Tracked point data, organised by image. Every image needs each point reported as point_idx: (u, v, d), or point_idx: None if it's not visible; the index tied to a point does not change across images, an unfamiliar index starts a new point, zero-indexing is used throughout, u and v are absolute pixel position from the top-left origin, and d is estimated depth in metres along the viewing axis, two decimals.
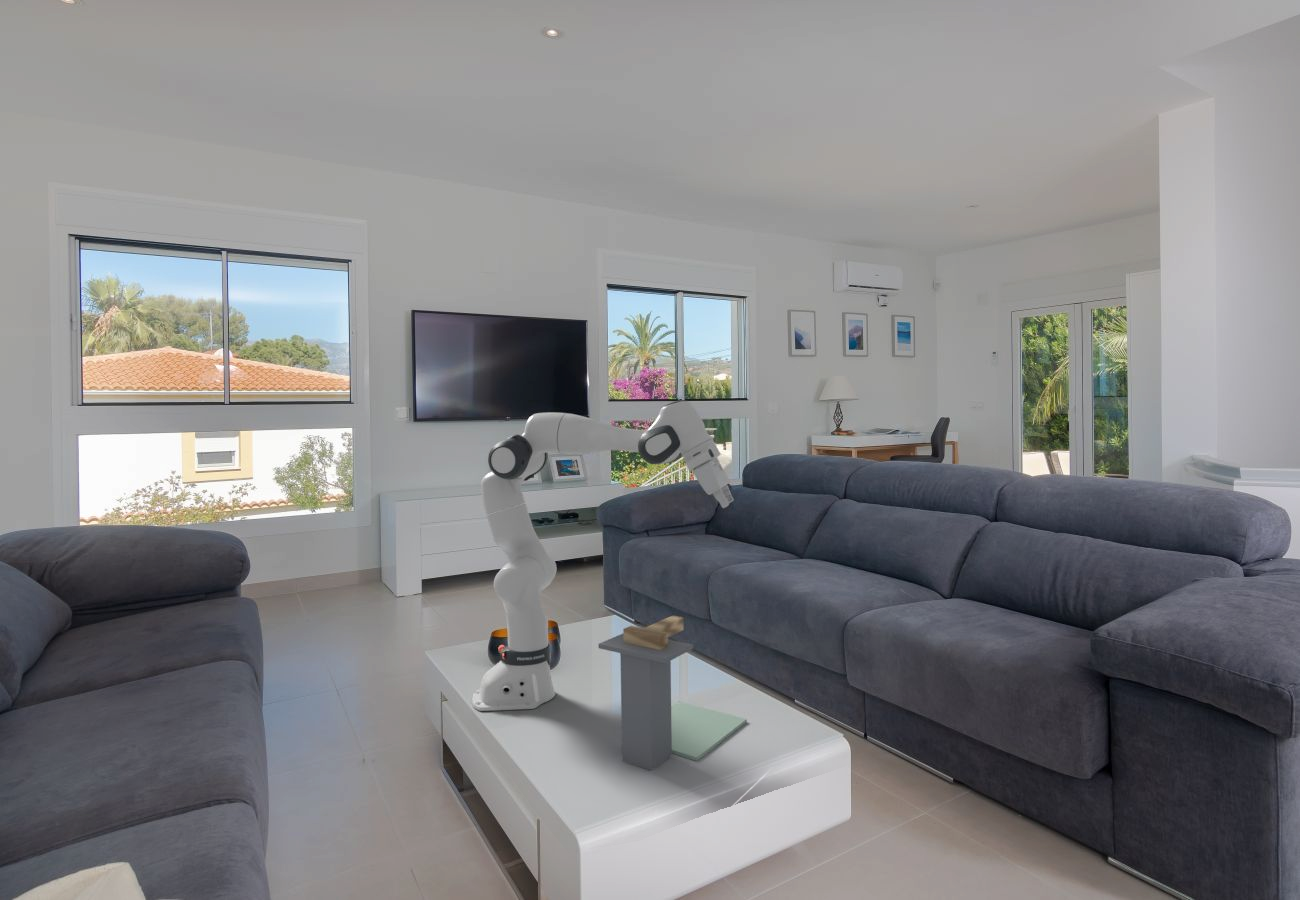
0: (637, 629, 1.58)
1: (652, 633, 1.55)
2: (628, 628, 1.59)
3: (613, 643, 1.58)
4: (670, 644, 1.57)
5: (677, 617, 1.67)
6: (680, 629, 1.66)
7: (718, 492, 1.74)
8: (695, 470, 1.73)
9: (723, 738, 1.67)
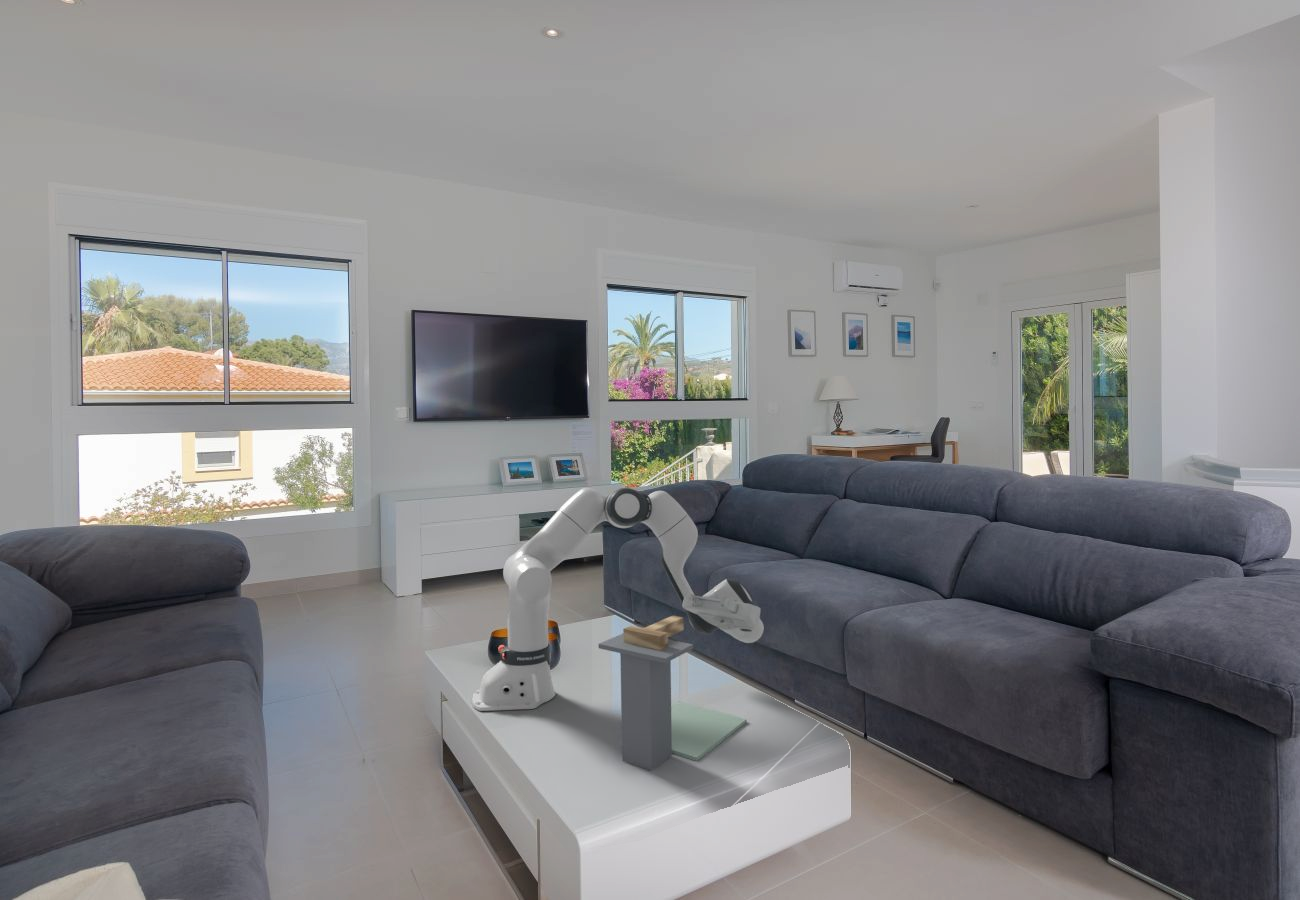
0: (637, 629, 1.58)
1: (652, 633, 1.55)
2: (628, 628, 1.59)
3: (613, 643, 1.58)
4: (670, 644, 1.57)
5: (677, 617, 1.67)
6: (680, 629, 1.66)
7: (735, 609, 1.78)
8: None
9: (723, 738, 1.67)
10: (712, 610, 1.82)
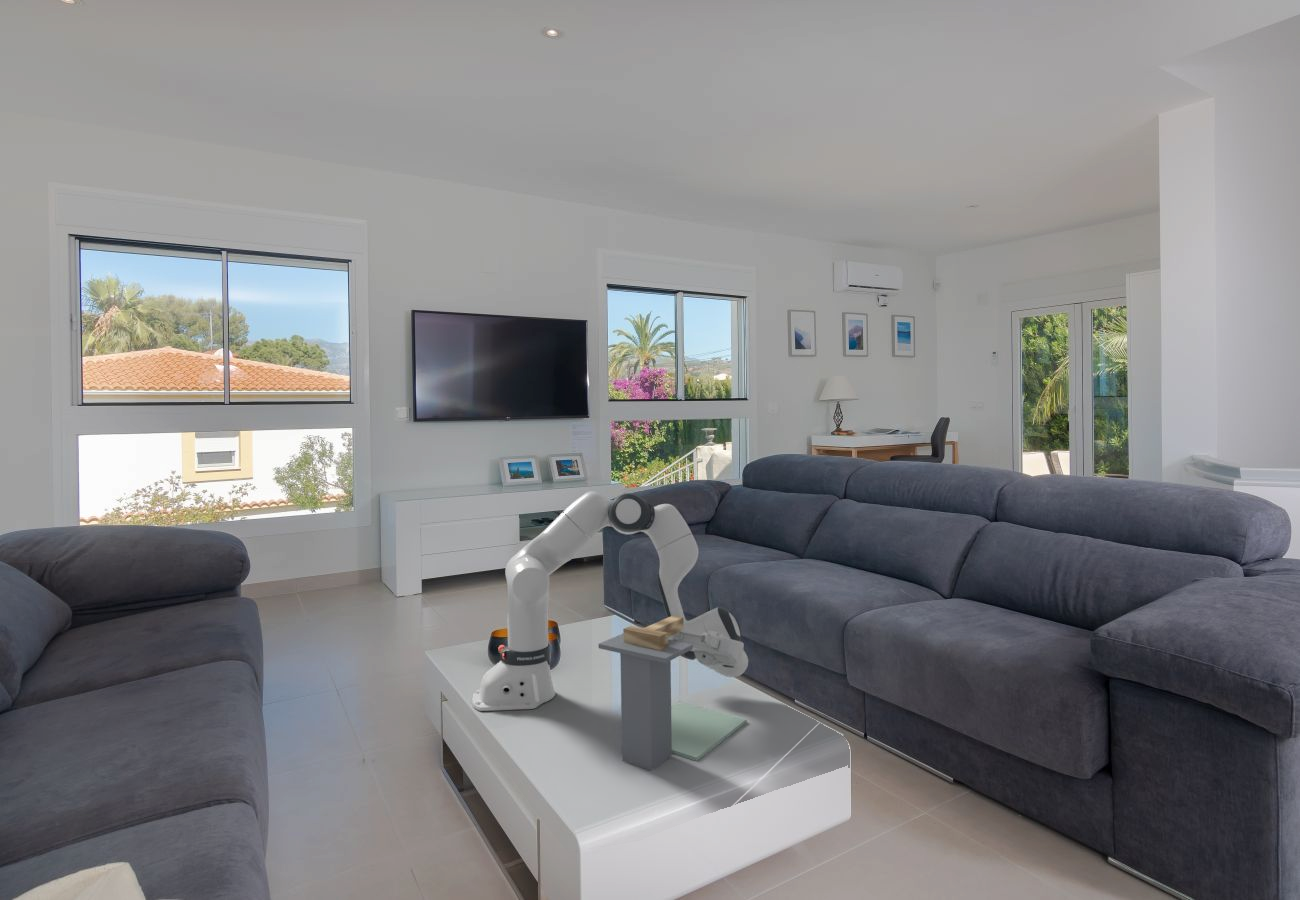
0: (637, 629, 1.58)
1: (652, 633, 1.55)
2: (628, 628, 1.59)
3: (613, 643, 1.58)
4: (670, 644, 1.57)
5: (677, 617, 1.67)
6: (680, 629, 1.66)
7: (717, 645, 1.71)
8: None
9: (723, 738, 1.67)
10: (693, 645, 1.75)
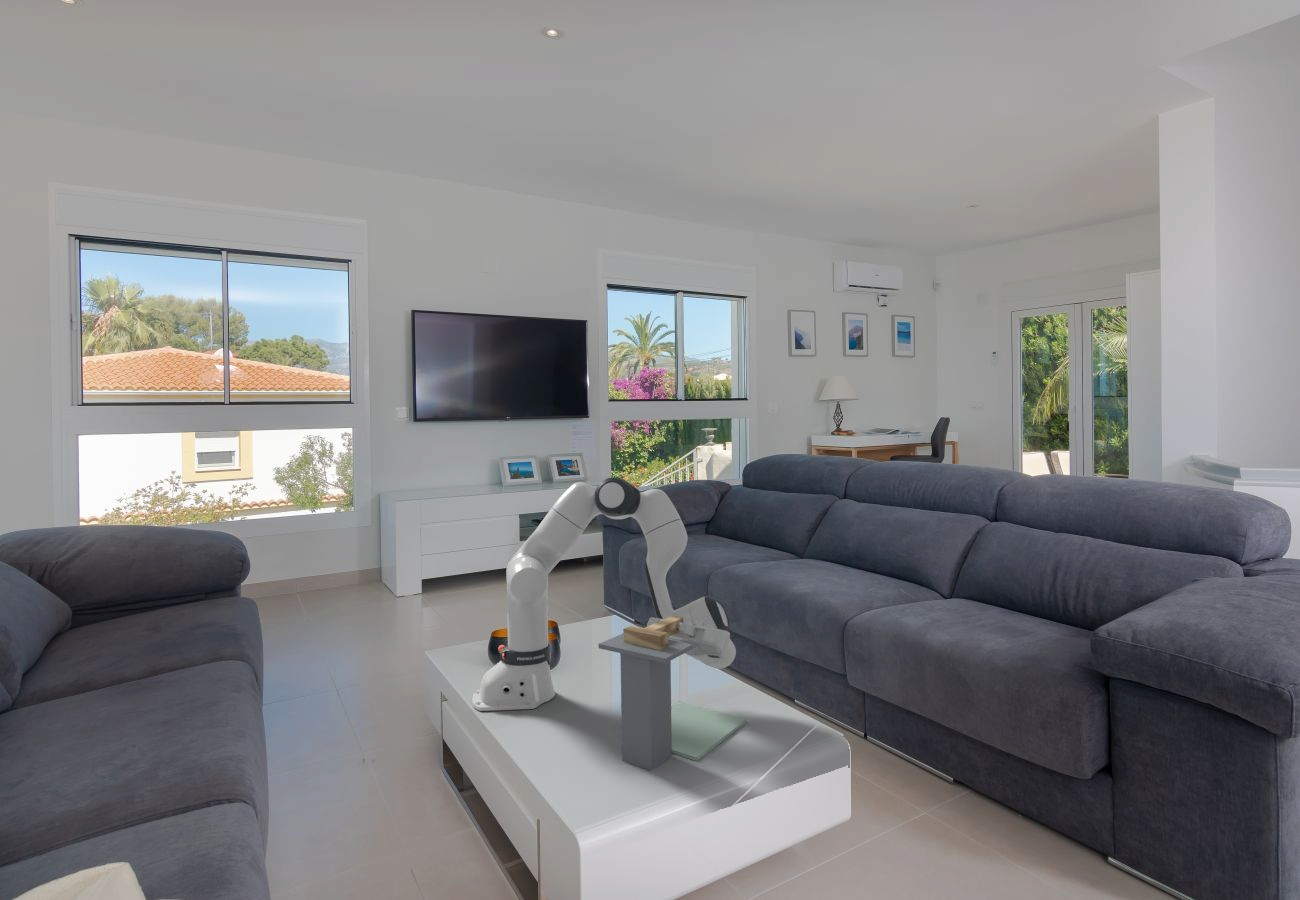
0: (637, 629, 1.58)
1: (652, 633, 1.55)
2: (628, 628, 1.59)
3: (613, 643, 1.58)
4: (670, 644, 1.57)
5: (677, 617, 1.67)
6: None
7: (692, 632, 1.66)
8: None
9: (723, 738, 1.67)
10: (677, 635, 1.69)
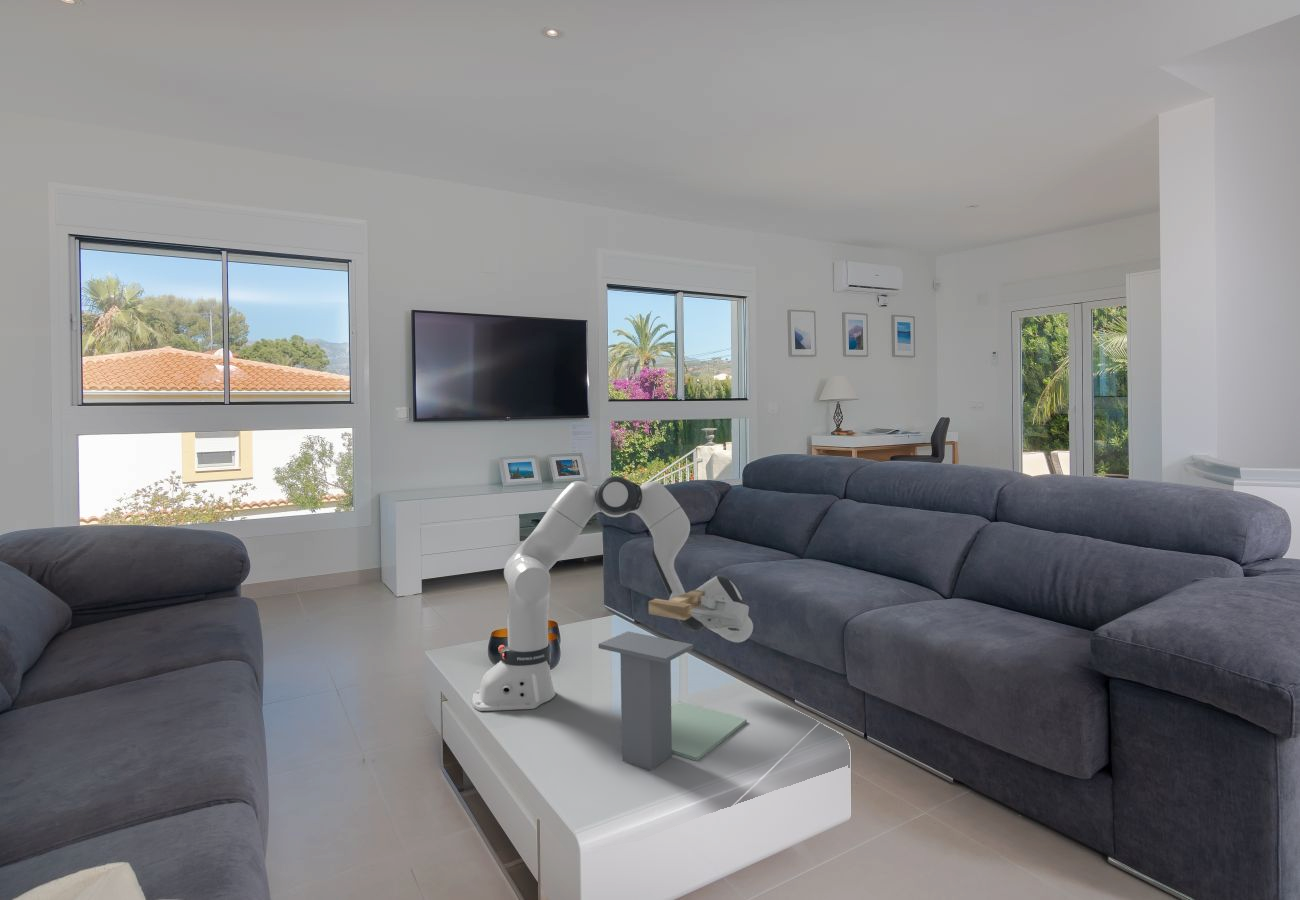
0: (661, 601, 1.66)
1: (676, 605, 1.63)
2: (653, 601, 1.67)
3: (613, 643, 1.58)
4: (670, 644, 1.57)
5: (698, 591, 1.75)
6: None
7: (713, 606, 1.74)
8: None
9: (723, 738, 1.67)
10: (699, 608, 1.76)
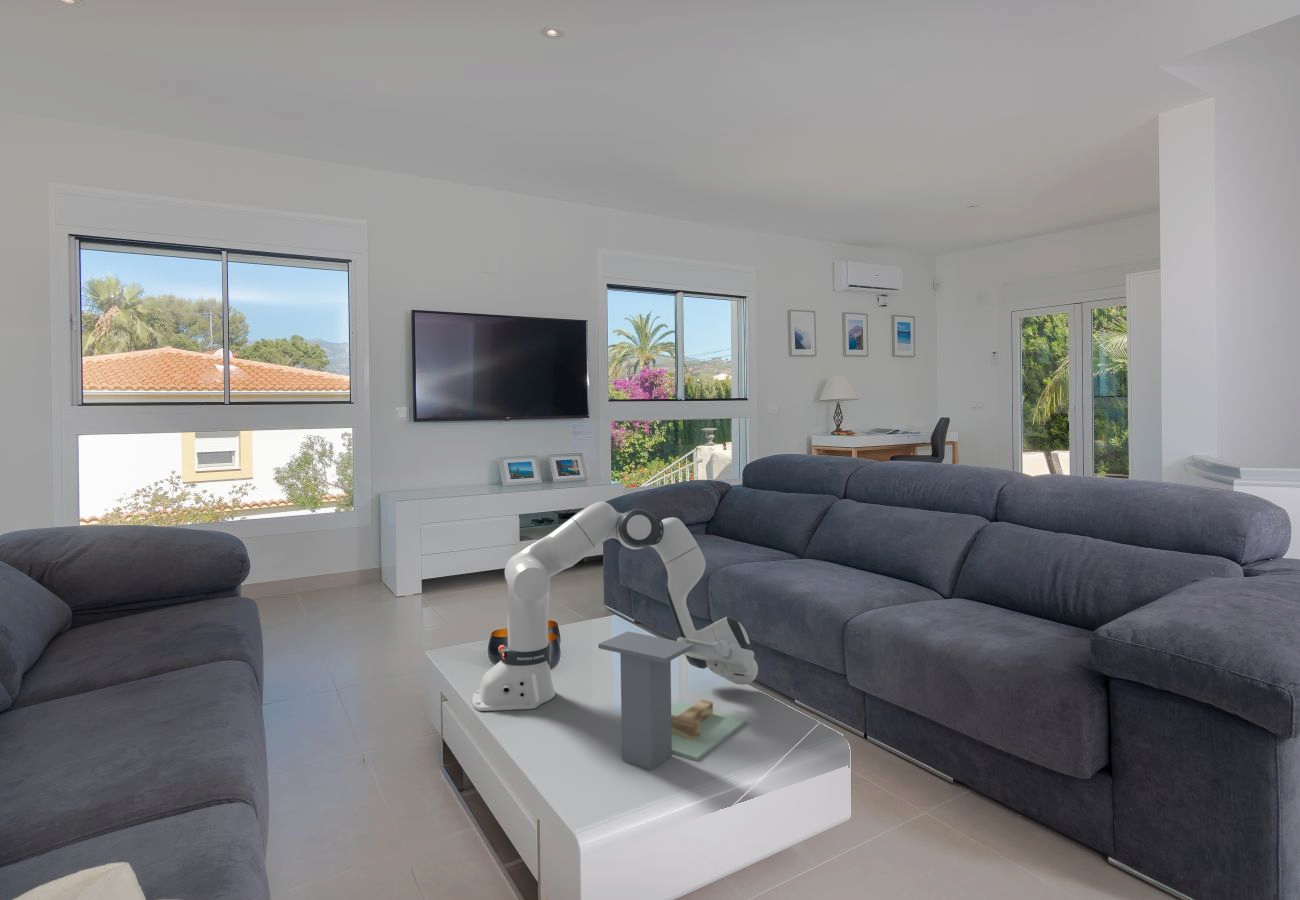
0: None
1: (685, 723, 1.67)
2: None
3: (613, 643, 1.58)
4: (670, 644, 1.57)
5: (707, 702, 1.79)
6: (710, 714, 1.78)
7: (729, 654, 1.76)
8: None
9: (723, 738, 1.67)
10: (705, 654, 1.80)
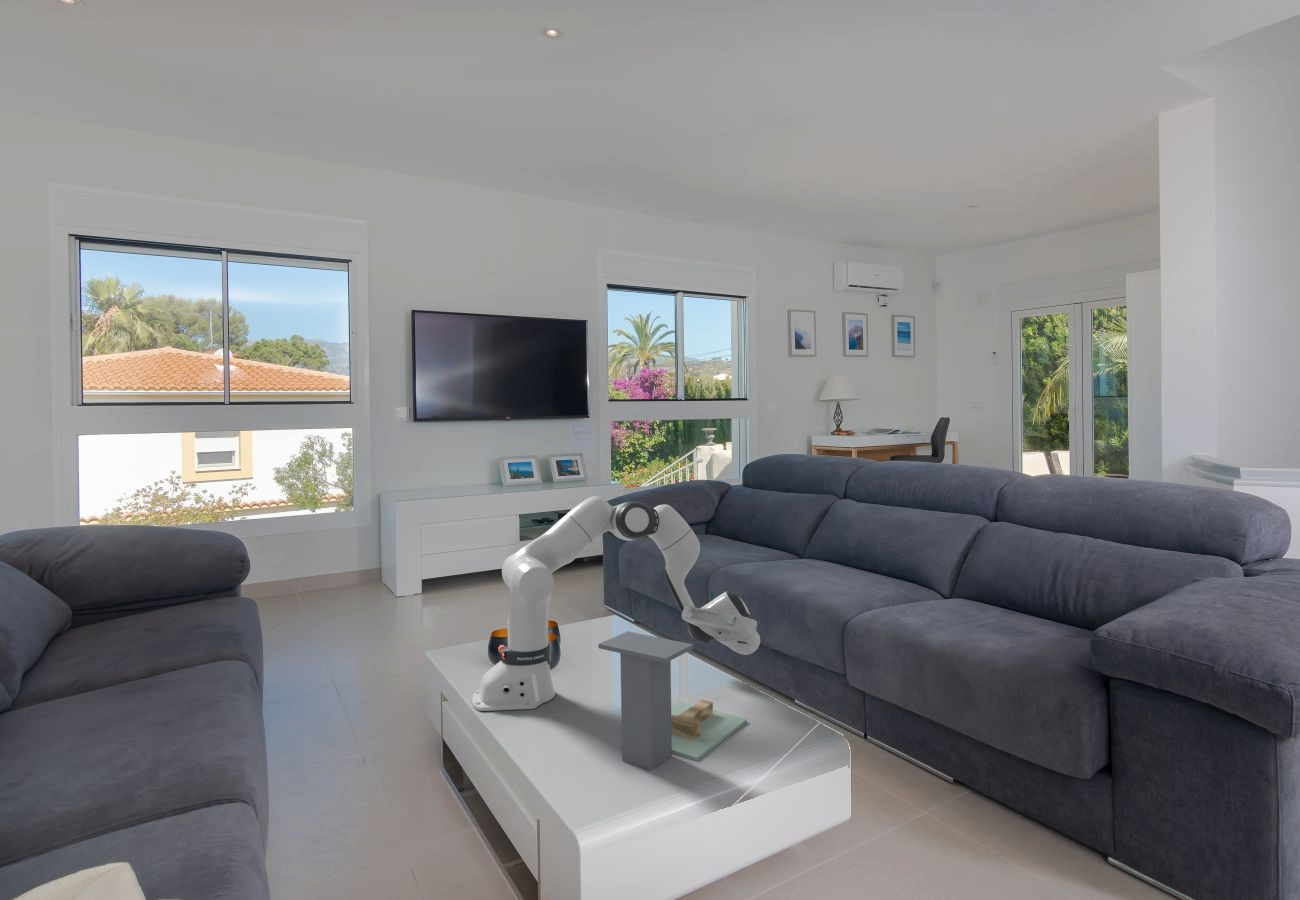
0: None
1: (685, 723, 1.67)
2: None
3: (613, 643, 1.58)
4: (670, 644, 1.57)
5: (707, 702, 1.79)
6: (710, 714, 1.78)
7: (733, 621, 1.84)
8: None
9: (723, 738, 1.67)
10: (710, 622, 1.88)
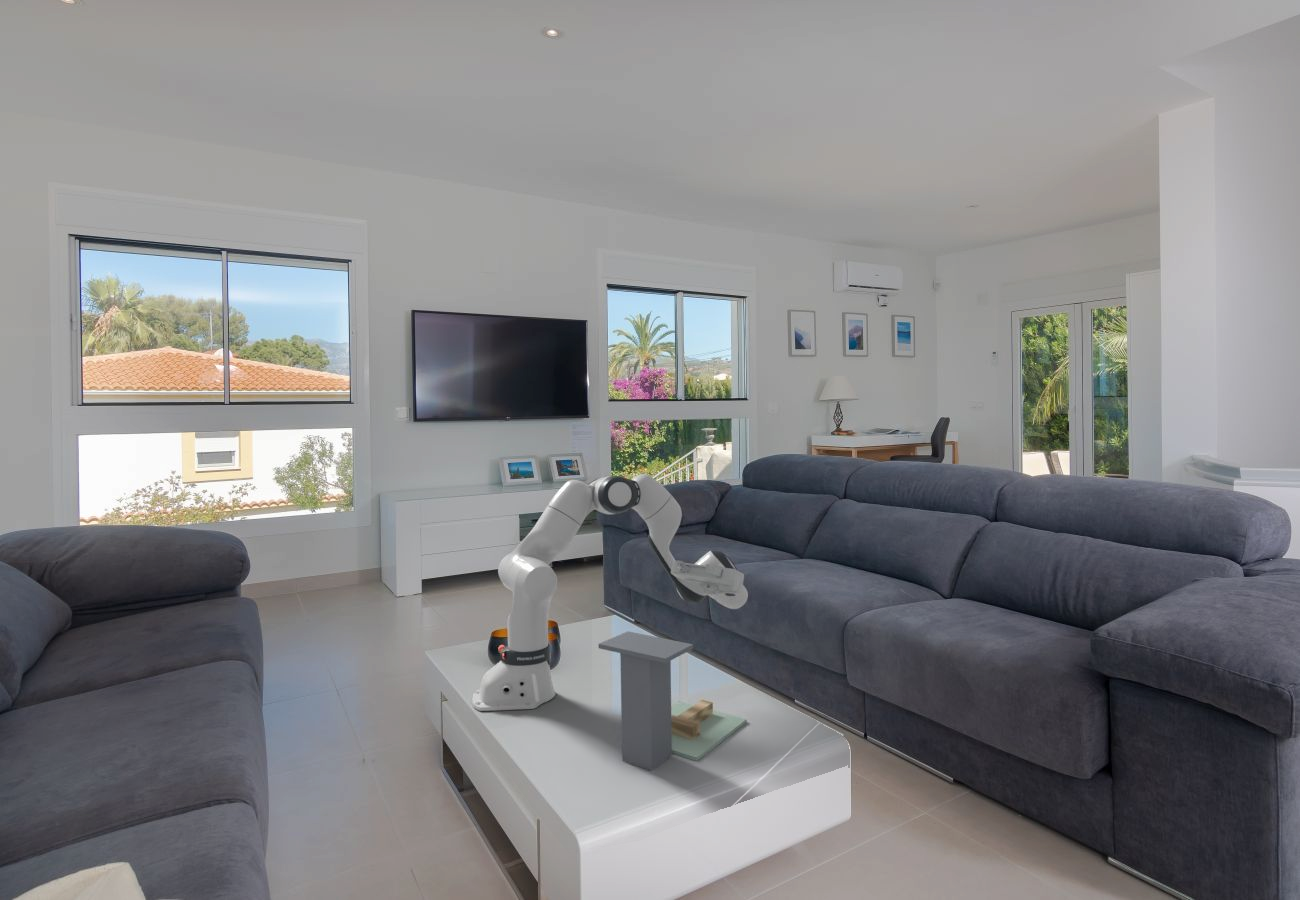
0: None
1: (685, 723, 1.67)
2: None
3: (613, 643, 1.58)
4: (670, 644, 1.57)
5: (707, 702, 1.79)
6: (710, 714, 1.78)
7: (720, 573, 1.90)
8: None
9: (723, 738, 1.67)
10: (698, 575, 1.94)
